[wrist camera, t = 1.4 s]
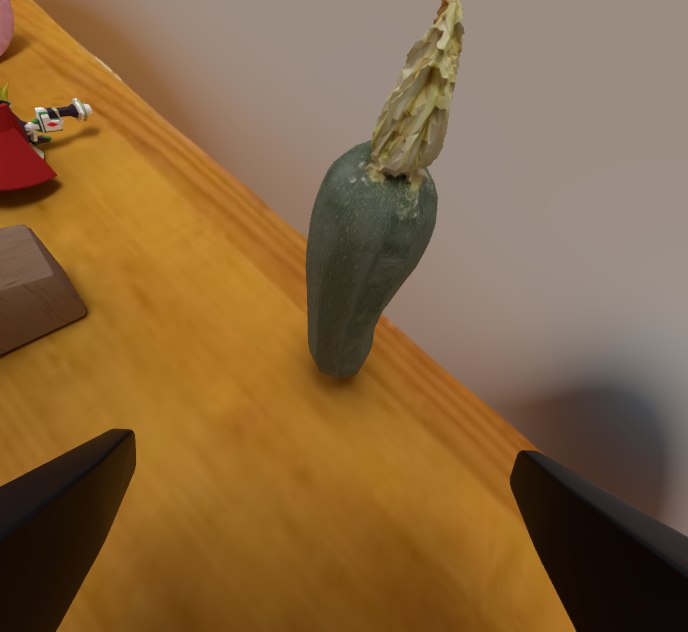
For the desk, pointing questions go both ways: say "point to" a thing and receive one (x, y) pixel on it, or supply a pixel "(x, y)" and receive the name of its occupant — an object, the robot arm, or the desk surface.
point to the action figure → (13, 142)
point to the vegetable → (380, 204)
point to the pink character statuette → (5, 25)
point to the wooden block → (32, 289)
